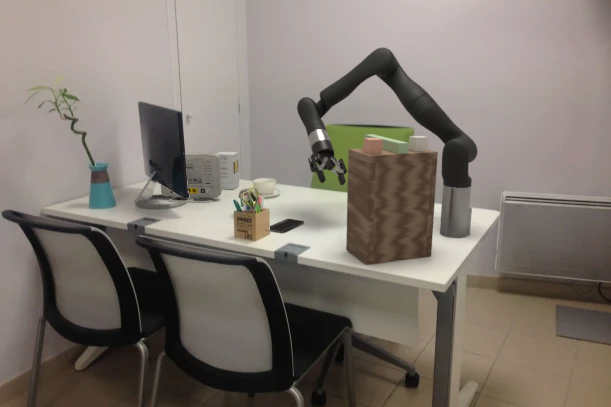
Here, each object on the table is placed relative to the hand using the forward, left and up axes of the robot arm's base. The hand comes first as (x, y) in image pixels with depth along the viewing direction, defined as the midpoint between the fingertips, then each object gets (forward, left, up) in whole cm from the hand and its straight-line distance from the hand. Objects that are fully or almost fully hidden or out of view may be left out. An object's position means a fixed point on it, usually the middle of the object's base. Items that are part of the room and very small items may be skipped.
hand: (333, 182), depth 183 cm
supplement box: (+20, -83, -18) cm, 87 cm away
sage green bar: (-7, +23, +15) cm, 28 cm away
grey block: (-15, +29, +15) cm, 36 cm away
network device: (+40, -63, -18) cm, 76 cm away
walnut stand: (-7, +27, -17) cm, 33 cm away
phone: (+14, -11, -18) cm, 25 cm away
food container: (+24, -28, -18) cm, 41 cm away
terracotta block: (0, +29, +15) cm, 33 cm away
